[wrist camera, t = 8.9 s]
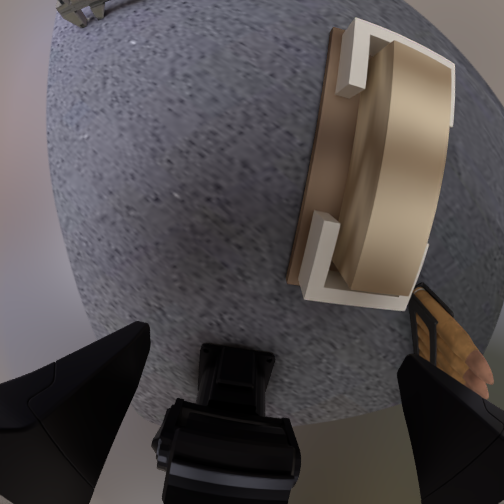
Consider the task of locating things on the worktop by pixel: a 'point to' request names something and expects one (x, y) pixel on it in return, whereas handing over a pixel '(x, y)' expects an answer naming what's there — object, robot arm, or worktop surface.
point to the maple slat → (394, 171)
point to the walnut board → (327, 156)
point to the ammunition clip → (446, 341)
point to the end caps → (323, 224)
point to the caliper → (70, 10)
